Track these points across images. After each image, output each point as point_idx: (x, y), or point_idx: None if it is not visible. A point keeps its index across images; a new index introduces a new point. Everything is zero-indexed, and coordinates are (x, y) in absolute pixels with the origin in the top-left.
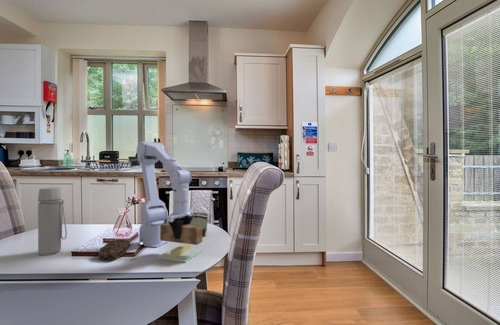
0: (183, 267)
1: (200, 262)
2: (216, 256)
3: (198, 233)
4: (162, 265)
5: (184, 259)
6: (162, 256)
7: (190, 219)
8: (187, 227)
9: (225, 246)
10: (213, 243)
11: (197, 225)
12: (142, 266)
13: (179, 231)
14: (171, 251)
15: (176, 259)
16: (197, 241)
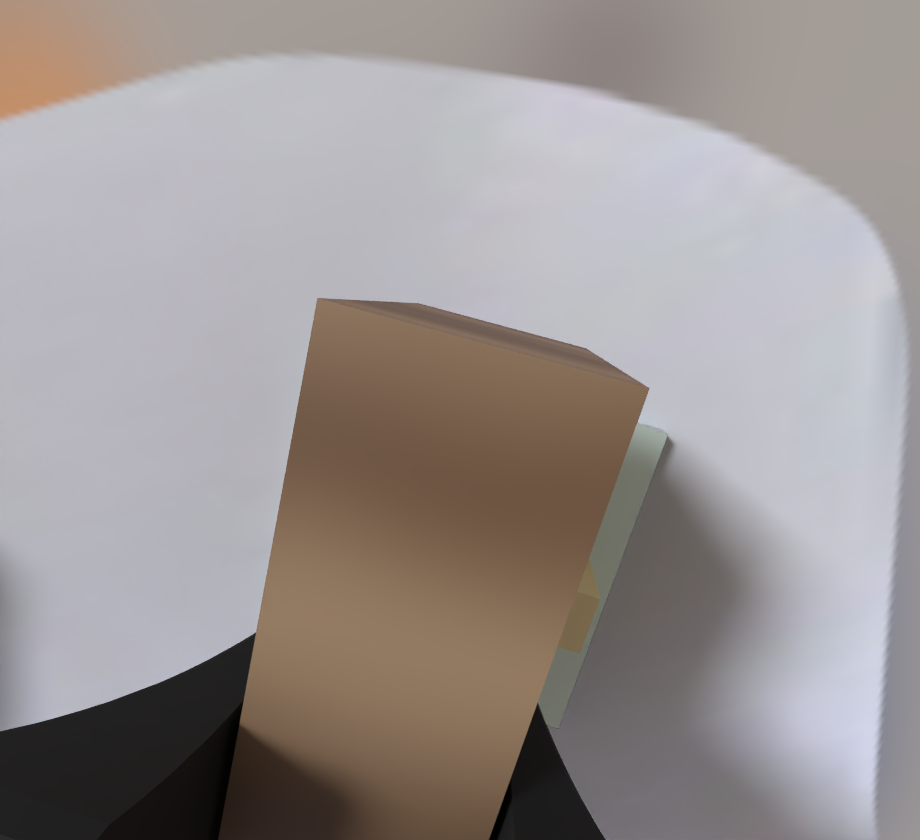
0: (792, 413)
1: (651, 270)
2: (455, 125)
3: (545, 347)
4: (734, 623)
5: (626, 456)
6: (552, 687)
7: (105, 786)
8: (543, 673)
9: (110, 97)
10: (49, 280)
11: (294, 460)
12: (756, 774)
13: (561, 762)
14: (583, 638)
15: (627, 537)
16: (570, 346)
